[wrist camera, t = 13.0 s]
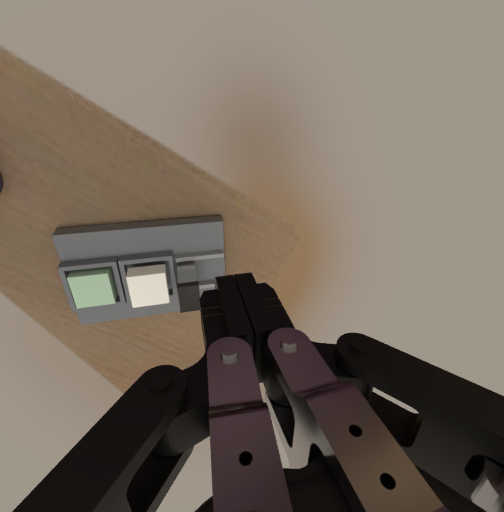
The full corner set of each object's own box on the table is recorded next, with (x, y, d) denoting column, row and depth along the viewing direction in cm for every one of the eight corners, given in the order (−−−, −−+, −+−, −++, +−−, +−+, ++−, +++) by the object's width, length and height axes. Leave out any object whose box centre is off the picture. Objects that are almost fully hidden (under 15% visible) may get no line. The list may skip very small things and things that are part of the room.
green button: (81, 298, 36) (76, 308, 34) (71, 268, 34) (66, 278, 32) (117, 293, 37) (115, 303, 35) (110, 264, 35) (107, 273, 33)
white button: (134, 297, 36) (132, 307, 34) (128, 267, 34) (125, 277, 32) (169, 293, 37) (169, 302, 35) (165, 264, 35) (165, 272, 33)
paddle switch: (178, 283, 38) (180, 312, 33) (175, 260, 36) (177, 287, 31) (196, 281, 38) (201, 309, 33) (194, 259, 37) (199, 285, 32)
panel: (84, 314, 39) (78, 332, 37) (57, 228, 34) (47, 241, 31) (224, 295, 43) (228, 310, 40) (220, 215, 38) (224, 225, 35)
